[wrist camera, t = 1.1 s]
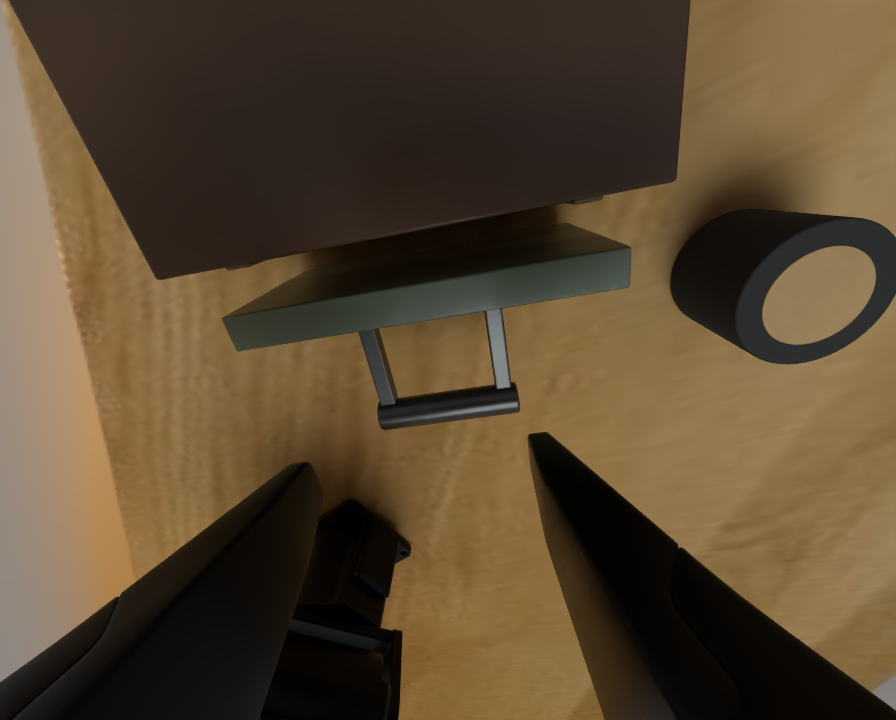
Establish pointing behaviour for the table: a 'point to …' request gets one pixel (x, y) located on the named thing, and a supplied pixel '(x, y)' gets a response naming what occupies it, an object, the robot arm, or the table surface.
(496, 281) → the drawer
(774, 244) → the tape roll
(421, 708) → the table surface
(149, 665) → the robot arm
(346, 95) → the cabinet
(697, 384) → the table surface
